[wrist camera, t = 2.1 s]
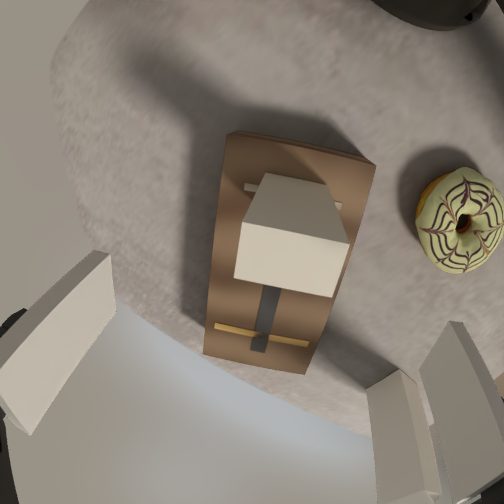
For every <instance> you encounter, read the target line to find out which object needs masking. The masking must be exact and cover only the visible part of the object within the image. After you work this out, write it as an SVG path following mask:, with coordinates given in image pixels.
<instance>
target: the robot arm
mask: <svg viewBox="0 0 504 504" xmlns="http://www.w3.org/2000/svg"><path fill="white" fill-rule="evenodd" d="M372 1H374V2H375V3H376V4H377V5H379V6H380V7H381V8H383V9H384V10H386V11H387V12H389V13H390V14H392V15H394V16H395V17H397V18H399V19H401V20H403V21H405V22H408V23H410V24H413V25H415V26H418V27H421V28H425V29H430V30H436V31H450V30H456V29H459V28H461V27H464V26H467V25H469V24H471V23H473V22H475V21H476V20H477V19H479V18H480V17H481V16H482V14H483V13H484V11H485V10H486V8H487V7H488V5H489V3H490V2H491V0H372ZM496 2H497V3H498V5H499V6H500V8H501V10H502V12H503V14H504V0H496ZM115 313H116V306H115V297H114V288H113V279H112V268H111V256H110V254H108V253H104V252H100V251H96V250H93V251H92V252H91V253H90V254H89V255H88V256H86V257H85V258H84V259H83V260H82V261H81V262H79V263H78V264H77V265H76V266H75V267H74V268H73V269H71V270H70V271H69V272H68V273H67V274H66V275H65V276H63V277H62V278H61V279H60V280H59V281H58V282H57V283H56V284H55V285H54V286H53V287H51V289H49V290H48V291H47V292H46V293H45V294H44V295H43V296H42V297H41V298H40V299H39V300H38V301H37V302H36V303H35V304H34V305H33V306H31V307H30V308H29V309H28V310H26V309H24V308H23V309H21V310H20V311H18V312H16V313H14V314H12V315H11V316H10V317H9V318H8V319H7V320H6V321H5V322H4V323H3V324H2V326H1V327H0V504H19V502H18V497H17V493H16V490H15V485H14V480H13V475H12V470H11V465H10V458H9V452H8V445H7V437H6V427H5V424H4V421H3V418H4V417H5V415H7V417H8V418H9V419H10V420H11V422H12V423H13V424H14V425H15V426H17V427H18V428H20V429H21V430H22V431H24V432H26V433H27V434H29V435H30V436H31V434H32V433H33V431H34V429H35V428H36V426H37V425H38V423H39V421H40V420H41V418H42V417H43V415H44V414H45V412H46V410H47V409H48V407H49V406H50V404H51V403H52V401H53V400H54V398H55V397H56V395H57V394H58V392H59V391H60V389H61V388H62V386H63V385H64V383H65V382H66V380H67V379H68V377H69V376H70V375H71V373H72V372H73V370H74V369H75V367H76V366H77V364H78V363H79V362H80V360H81V359H82V358H83V356H84V355H85V353H86V352H87V351H88V349H89V348H90V346H91V345H92V344H93V342H94V341H95V340H96V338H97V337H98V336H99V334H100V333H101V332H102V330H103V329H104V328H105V326H106V324H108V322H109V321H110V320H111V318H112V317H113V316H114V314H115ZM419 372H420V375H421V378H422V381H423V384H424V388H425V391H426V394H427V397H428V401H429V404H430V407H431V411H432V414H433V418H434V421H435V425H436V429H437V432H438V436H439V440H440V444H441V449H442V453H443V457H444V462H445V466H446V471H447V476H448V481H449V486H450V492H451V498H452V504H459V503H462V502H466V501H469V500H470V499H472V498H473V497H475V496H477V495H478V494H480V493H481V498H480V499H478V500H477V501H475V502H473V503H472V504H504V399H503V398H502V397H501V396H500V394H499V392H498V390H497V387H496V385H495V383H494V381H493V379H492V377H491V375H490V373H489V371H488V369H487V367H486V365H485V363H484V361H483V359H482V357H481V355H480V353H479V351H478V349H477V348H476V346H475V344H474V342H473V340H472V339H471V337H470V335H469V333H468V331H467V330H466V328H465V326H464V325H463V323H461V322H454V321H448V323H447V325H446V327H445V328H444V330H443V332H442V333H441V335H440V337H439V338H438V340H437V342H436V343H435V345H434V347H433V348H432V350H431V351H430V353H429V354H428V356H427V357H426V359H425V361H424V362H423V364H422V365H421V367H420V368H419Z"/></svg>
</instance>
